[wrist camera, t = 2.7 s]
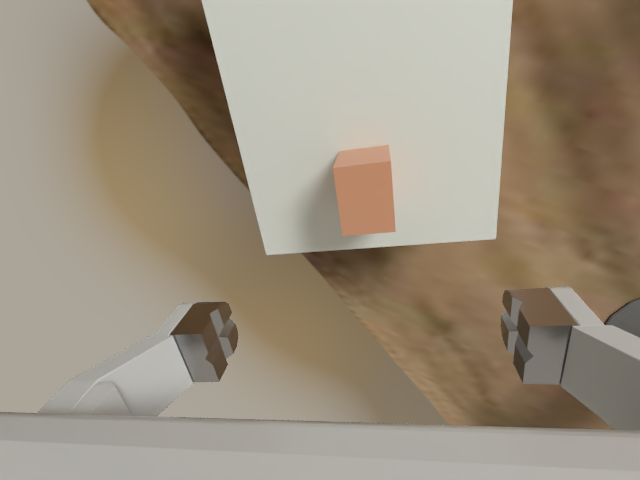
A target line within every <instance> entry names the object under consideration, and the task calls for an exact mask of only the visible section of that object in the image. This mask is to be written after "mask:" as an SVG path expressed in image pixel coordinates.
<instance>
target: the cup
mask: <svg viewBox="0 0 640 480" xmlns="http://www.w3.org/2000/svg"><path fill="white" fill-rule="evenodd" d="M605 325H613V326H615V327H617V328H619V329H622V330H624V331H626V332H628V333H631V334H633V335H635V336H637V337H639V338H640V298H639V299H637V300H634V301H631V302H629V303H628V304H627V305H625V306H624V307H622V308H621V309H619V310H618V311H617V312H615V313H614V314H612V315H611V316H610V318H609V319H608V321H607V322H606V323H605Z"/></svg>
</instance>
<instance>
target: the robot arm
mask: <svg viewBox="0 0 640 480" xmlns="http://www.w3.org/2000/svg"><path fill="white" fill-rule="evenodd" d="M502 303H503V305H504V307H505V309H506V312H505V313H504V314H503V315H502V316H501V332H502V338H503V341H504V344H505V346H506V349H507V351H509V352H510V353H512V354H513V355H514V360H513V364H514V366H515V368H516V370H517V372H518V374H519V376H520V379H521V381H522V383H526V384H558V385H561V387H562V388H564V389H565V390H566V391H567V392H569V393H570V394H571V395H572V396H574V397H575V398H576V399H577V400H579V401H580V402H581V403H582V404H584V405H585V406H586V407H587V408H589V409H590V410H591V411H592V412H594V413H595V414H596V415H597V416H599V417H600V418H601V419H602V420H604V421H605V422H606V423H607V424H609V425H610V426H611V427H612V428H614V429H615V430H605V429H570V428H530V427H494V426H462V425H429V424H428V425H427V424H397V423H395V424H394V423H362V422H361V423H360V422H327V421H324V422H323V421H290V420H287V421H286V420H255V419H253V420H252V419H218V418H185V417H156V416H157V415H159V414H160V413H161V412H162V411H163V410H164V409H165V408H167V407H168V406H169V405H170V404H171V403H172V402H173V401H174V400H175V399H177V398H178V397H179V396H180V395H181V394H182V393H183V392H184V391H186V390H187V389H188V388H189V387H190V386H191V385H192V384H193V382H218V381H220V379H221V377H222V375H223V373H224V371H225V369H226V367H227V365H228V364H227V361H226V358H228V357H229V356H231V355H232V354H233V353H234V351H235V349H236V346H237V341H238V332H237V328H236V324H235V323H234V322H233V321H232V320H230V319H229V317H230V315H231V313H232V312H231V309H230V307H229V304H228V303H226V302H198V303H195V302H194V303H182V304H179V306H178V307H177V308H176V309H175V310H174V311H173V313H172V314H171V315H170V316H169V317H168V319H167V320H166V321H165V322H164V323H163V324H162V326H161V327H160V328H159V329H158V330H157V331H156V333H155V334H154V335H153V336H147V337H146V338H144V339H142V340H140V341H139V342H137V343H135V344H134V345H132V346H130V347H128V348H126V349H124V350H123V351H121V352H119V353H117V354H115V355H114V356H112V357H110V358H108V359H107V360H105V361H103V362H101V363H99V364H98V365H96V366H94V367H92V368H91V369H89V370H87V371H85V372H84V373H82V374H80V375H78V376H76V377H75V378H73V379H71V380H70V381H68V382H67V383H66V384H65V385H64V386H63V387H62V388H61V389H60V390H59V391H58V392H57V393H56V394H55V395H54V396H53V397H52V399H50V400H49V401H48V402H47V403H46V405H44V407H42V408H41V409H40V411H38V413H13V412H0V480H640V338H639V337H637V336H635V335H633V334H631V333H628V332H626V331H624V330H622V329H619V328H617V327H615V326H613V325H604V324H603V323H602V321H601V320H600V319H599V318H598V317H597V316H596V315H595V314H594V313H593V311H592V310H591V309H590V308H589V307H588V306H587V305H586V304H585V303H584V302H583V300H582V299H581V298H580V297H579V296H578V295H577V294H576V293H575V292H574V290H573V289H572V288H570V287H568V286H558V287H546V288H534V289H516V290H505V291H504V294H503V301H502Z"/></svg>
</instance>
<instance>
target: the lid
mask: <svg viewBox="0 0 640 480" xmlns="http://www.w3.org/2000/svg"><path fill="white" fill-rule="evenodd" d="M202 4H203V8H204V12H205V16H206V20H207V24H208V28H209V32H210V35H211V39H212V43H213V47H214V51H215V55H216V59H217V63H218V67H219V71H220V75H221V79H222V83H223V87H224V91H225V95H226V98H227V102H228V106H229V110H230V114H231V118H232V122H233V126H234V130H235V134H236V138H237V142H238V146H239V150H240V154H241V157H242V161H243V165H244V169H245V173H246V177H247V181H248V185H249V189H250V193H251V197H252V200H253V205H254V208H255V212H256V217H257V220H258V224H259V228H260V232H261V236H262V240H263V244H264V248H265V252H266V255H274V254H289V253H304V252H318V251H332V250H347V249H361V248H375V247H389V246H403V245H417V244H431V243H445V242H460V241H474V240H488V239H496V229H497V215H498V201H499V187H500V173H501V159H502V145H503V131H504V117H505V103H506V89H507V75H508V61H509V47H510V33H511V19H512V5H513V0H202Z"/></svg>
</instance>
